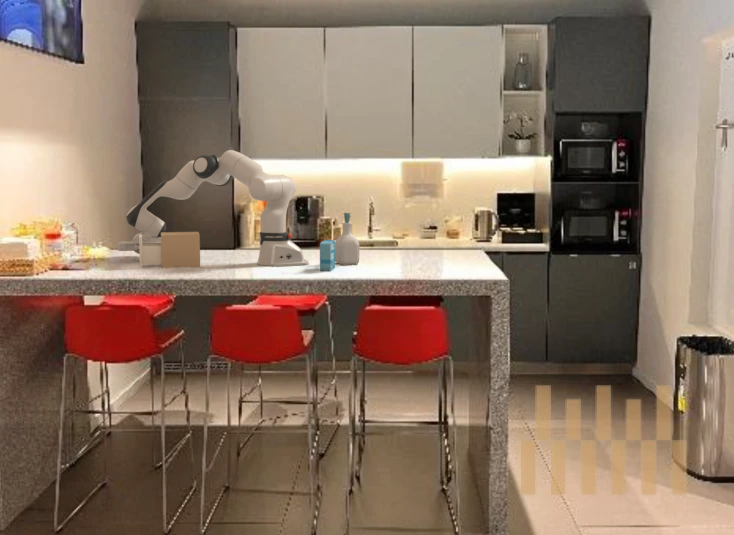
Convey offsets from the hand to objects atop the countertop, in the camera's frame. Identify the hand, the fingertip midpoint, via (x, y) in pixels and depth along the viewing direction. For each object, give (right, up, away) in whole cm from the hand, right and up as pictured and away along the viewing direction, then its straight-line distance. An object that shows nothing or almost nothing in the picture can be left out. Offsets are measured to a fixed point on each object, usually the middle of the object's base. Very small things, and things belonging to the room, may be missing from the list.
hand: (141, 247), depth 356 cm
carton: (+18, -8, -3) cm, 20 cm away
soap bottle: (+90, -7, +7) cm, 90 cm away
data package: (+82, -10, -11) cm, 83 cm away
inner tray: (+9, -7, -3) cm, 11 cm away
